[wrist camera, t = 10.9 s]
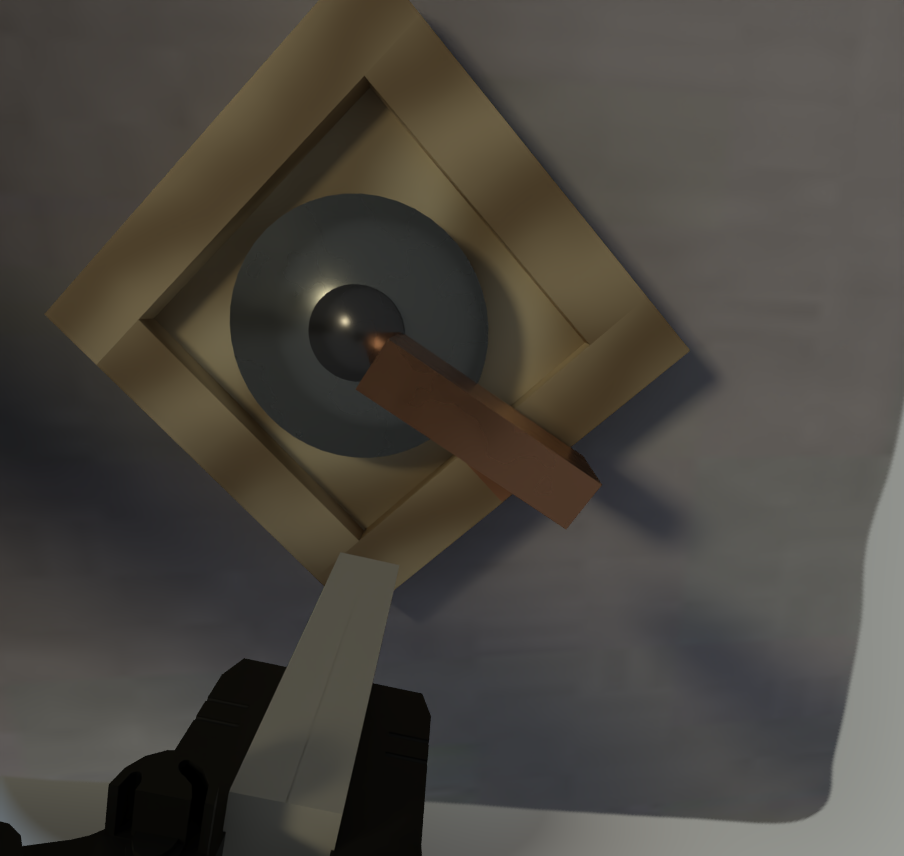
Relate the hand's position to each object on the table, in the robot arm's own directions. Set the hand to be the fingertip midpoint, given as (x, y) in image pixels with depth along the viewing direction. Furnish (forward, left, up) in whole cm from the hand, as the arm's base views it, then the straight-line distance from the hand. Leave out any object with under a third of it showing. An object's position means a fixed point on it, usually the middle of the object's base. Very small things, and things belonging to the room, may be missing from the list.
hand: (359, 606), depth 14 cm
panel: (-6, +2, -14) cm, 16 cm away
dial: (-3, +3, -13) cm, 13 cm away
